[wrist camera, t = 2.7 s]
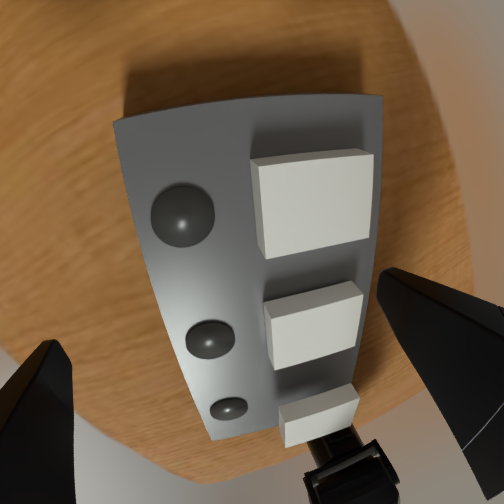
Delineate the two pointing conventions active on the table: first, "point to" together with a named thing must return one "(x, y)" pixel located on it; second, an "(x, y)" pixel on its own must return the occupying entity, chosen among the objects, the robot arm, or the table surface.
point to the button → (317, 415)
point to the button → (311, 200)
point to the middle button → (312, 324)
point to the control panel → (240, 242)
